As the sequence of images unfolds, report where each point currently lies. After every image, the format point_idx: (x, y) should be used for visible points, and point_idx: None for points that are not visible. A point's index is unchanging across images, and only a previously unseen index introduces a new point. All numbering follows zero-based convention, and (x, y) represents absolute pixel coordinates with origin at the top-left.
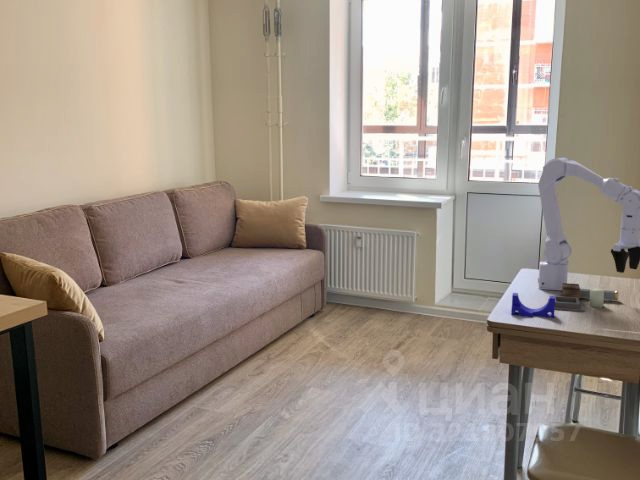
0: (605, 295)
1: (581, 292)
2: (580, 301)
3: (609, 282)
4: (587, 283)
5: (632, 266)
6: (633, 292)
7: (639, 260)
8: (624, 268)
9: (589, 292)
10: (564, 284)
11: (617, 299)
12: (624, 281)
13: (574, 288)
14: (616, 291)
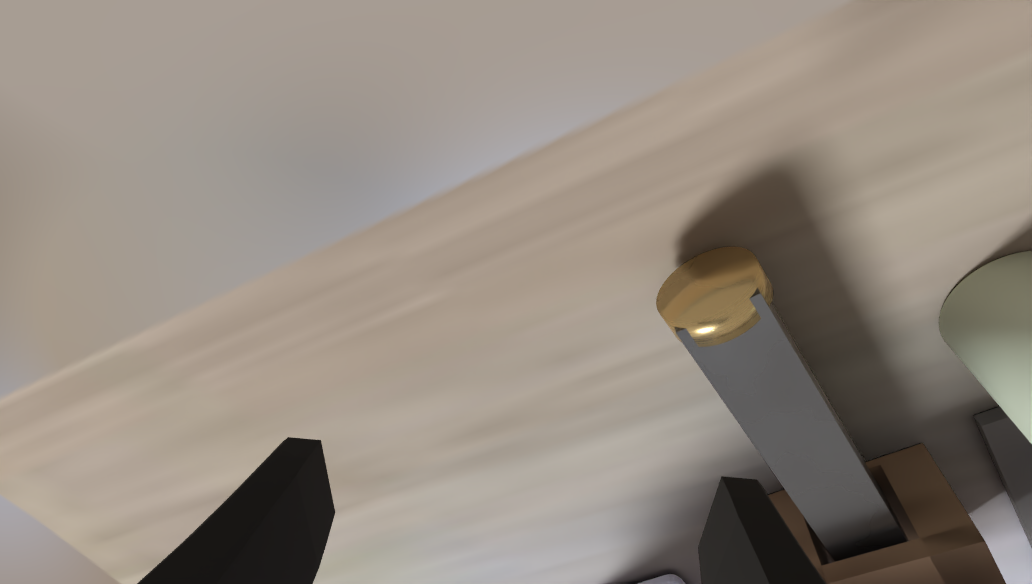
0: (799, 356)
1: (887, 506)
2: (994, 429)
3: (185, 501)
4: (354, 566)
5: (313, 518)
6: (258, 287)
7: (180, 573)
8: (773, 541)
9: (864, 468)
10: None
11: (739, 250)
12: (48, 454)
13: (989, 572)
14: (736, 319)
